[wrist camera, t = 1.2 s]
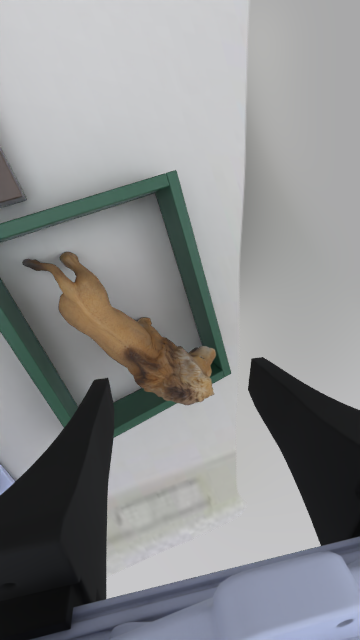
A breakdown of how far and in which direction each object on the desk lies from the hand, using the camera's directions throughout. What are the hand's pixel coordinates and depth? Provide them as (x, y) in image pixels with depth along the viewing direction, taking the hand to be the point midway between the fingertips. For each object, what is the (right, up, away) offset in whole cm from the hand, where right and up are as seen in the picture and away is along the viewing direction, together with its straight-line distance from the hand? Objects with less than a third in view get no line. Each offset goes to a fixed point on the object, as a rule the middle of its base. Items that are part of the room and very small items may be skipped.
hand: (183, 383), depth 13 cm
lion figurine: (-6, +4, +10) cm, 12 cm away
